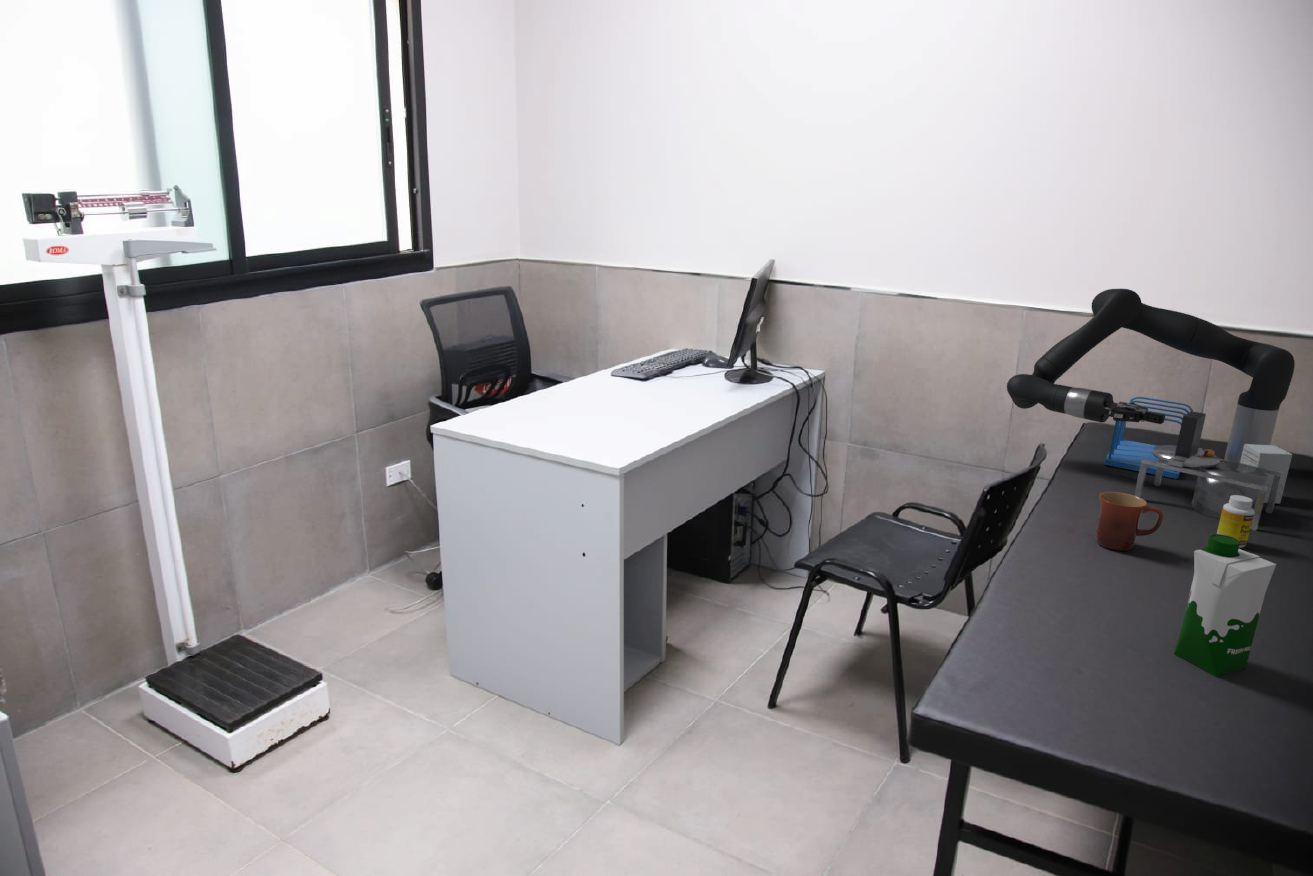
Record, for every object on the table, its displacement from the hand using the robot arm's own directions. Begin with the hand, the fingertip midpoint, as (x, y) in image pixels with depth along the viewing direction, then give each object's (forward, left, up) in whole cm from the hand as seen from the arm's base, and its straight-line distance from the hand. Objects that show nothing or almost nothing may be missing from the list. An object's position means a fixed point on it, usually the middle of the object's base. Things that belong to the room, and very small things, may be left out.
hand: (1163, 419), depth 207 cm
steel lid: (0, +6, -8) cm, 10 cm away
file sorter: (-28, -9, -19) cm, 35 cm away
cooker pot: (0, +12, -19) cm, 22 cm away
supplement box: (-17, +19, -19) cm, 32 cm away
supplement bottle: (+21, +22, -19) cm, 36 cm away
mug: (+41, +7, -19) cm, 46 cm away
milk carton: (+79, +32, -19) cm, 87 cm away
